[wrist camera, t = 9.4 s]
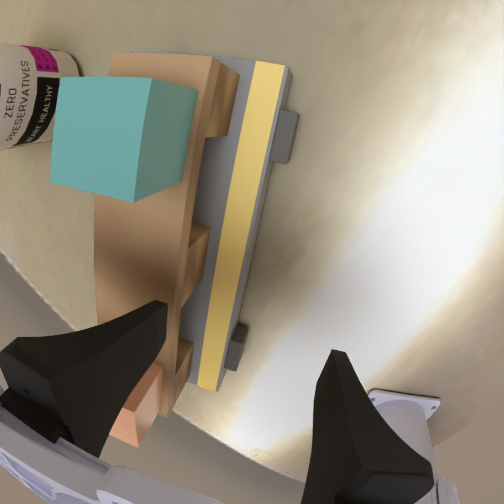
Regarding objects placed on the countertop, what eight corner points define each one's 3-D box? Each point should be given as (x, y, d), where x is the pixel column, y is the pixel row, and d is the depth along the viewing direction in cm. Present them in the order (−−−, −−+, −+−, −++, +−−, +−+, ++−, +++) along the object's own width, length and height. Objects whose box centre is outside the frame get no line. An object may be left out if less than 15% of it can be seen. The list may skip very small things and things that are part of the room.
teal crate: (181, 181, 13) (133, 203, 10) (107, 166, 14) (50, 182, 10) (198, 90, 12) (151, 78, 8) (119, 83, 12) (60, 77, 8)
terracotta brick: (162, 404, 19) (138, 447, 16) (112, 383, 20) (84, 421, 16) (163, 366, 18) (134, 412, 14) (107, 343, 18) (72, 382, 14)
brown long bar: (190, 374, 24) (167, 418, 20) (136, 354, 25) (107, 392, 20) (240, 75, 16) (212, 56, 11) (160, 67, 16) (113, 53, 12)
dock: (237, 372, 27) (229, 396, 24) (128, 334, 28) (112, 353, 25) (308, 79, 18) (306, 70, 15) (152, 59, 19) (129, 52, 16)
